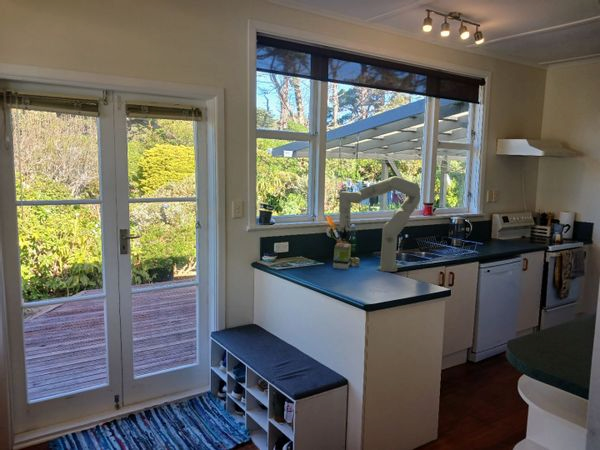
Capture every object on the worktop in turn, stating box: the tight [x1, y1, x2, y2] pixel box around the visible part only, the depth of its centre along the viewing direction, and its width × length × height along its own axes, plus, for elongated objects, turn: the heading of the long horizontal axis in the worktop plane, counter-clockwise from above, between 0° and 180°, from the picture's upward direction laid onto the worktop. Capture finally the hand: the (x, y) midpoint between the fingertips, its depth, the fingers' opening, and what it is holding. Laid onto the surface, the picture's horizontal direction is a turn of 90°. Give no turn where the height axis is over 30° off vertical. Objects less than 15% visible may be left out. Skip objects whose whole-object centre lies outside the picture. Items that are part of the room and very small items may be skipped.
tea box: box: [332, 242, 352, 270], centre depth 300 cm, size 15×10×15 cm
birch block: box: [349, 256, 360, 267], centre depth 306 cm, size 5×5×5 cm
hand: (343, 238), depth 298 cm, fingers closed
